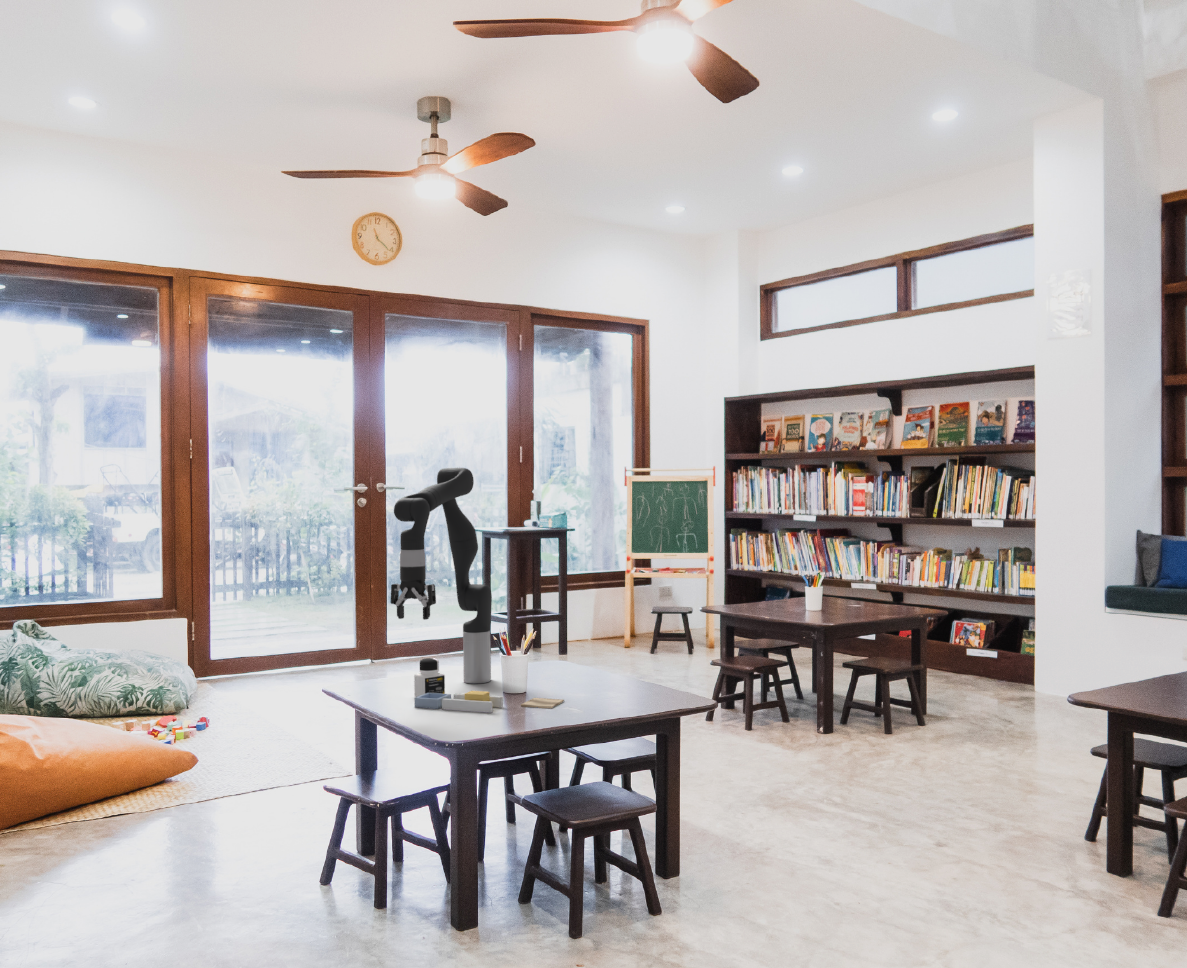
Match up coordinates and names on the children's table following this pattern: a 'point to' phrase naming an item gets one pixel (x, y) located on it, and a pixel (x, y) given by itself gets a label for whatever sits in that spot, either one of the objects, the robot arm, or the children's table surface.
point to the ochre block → (477, 696)
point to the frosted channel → (471, 704)
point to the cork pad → (542, 703)
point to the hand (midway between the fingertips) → (413, 618)
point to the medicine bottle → (429, 678)
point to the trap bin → (431, 700)
